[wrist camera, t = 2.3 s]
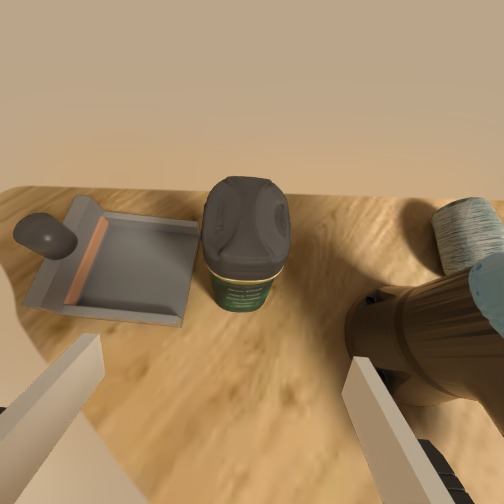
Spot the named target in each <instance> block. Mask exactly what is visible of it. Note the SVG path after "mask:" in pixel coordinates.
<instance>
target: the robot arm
mask: <svg viewBox="0 0 504 504" xmlns="http://www.w3.org/2000/svg"><path fill="white" fill-rule="evenodd" d="M345 339H346V345H347V349H348V352H349V355H350V358H351V360H352V363H351V366H350V369H349V372H348V375H347V378H346V381H345V384H344V387H343V390H342V393H341V395H342V398H343V400H344V403H345V405H346V408H347V411H348V413H349V416H350V419H351V421H352V424H353V426H354V429H355V432H356V434H357V437H358V439H359V442H360V445H361V447H362V450H363V452H364V455H365V458H366V460H367V463H368V465H369V468H370V471H371V473H372V476H373V478H374V481H375V484H376V486H377V489H378V492H379V494H380V497H381V499H382V502H383V504H474V502H473V501H472V499H471V498H470V496H469V494H468V493H466V492H465V488H464V487H463V485H462V484H461V482H460V481H459V479H458V478H457V477H456V476H455V473H454V472H453V470H452V468H451V467H450V465H449V464H448V462H447V461H446V459H445V458H444V456H443V455H442V454H441V453H440V452H439V451H438V450H437V449H436V448H435V447H434V446H433V445H432V443H431V442H430V441H429V440H424V439H416V437H415V435H414V434H413V432H412V430H411V429H410V427H409V425H408V424H407V422H406V420H405V419H404V417H403V415H402V414H401V412H400V410H399V409H398V407H397V405H396V404H395V402H394V401H397V402H401V403H405V404H408V405H413V406H433V405H437V404H440V403H444V402H447V401H451V400H454V399H458V398H464V399H469V400H474V401H478V402H479V403H480V404H481V405H482V406H483V407H484V409H485V410H486V412H487V413H488V415H489V416H490V418H491V419H492V421H493V422H494V424H495V425H496V427H497V428H498V430H499V431H500V433H501V434H502V436H503V437H504V252H503V253H496V254H493V255H490V256H487V257H485V258H483V259H481V260H480V261H478V262H477V263H475V265H474V266H471V267H468V268H466V269H463V270H460V271H458V272H455V273H452V274H449V275H447V276H444V277H441V278H439V279H436V280H433V281H430V282H428V283H425V284H422V285H420V286H417V287H410V286H385V287H380V288H377V289H374V290H372V291H370V292H368V293H366V294H364V295H362V296H361V297H360V298H358V299H357V300H356V301H355V303H354V304H353V305H352V307H351V309H350V310H349V313H348V315H347V319H346V324H345ZM105 375H106V374H105V368H104V361H103V355H102V348H101V342H100V335H99V334H95V333H83V334H82V335H81V336H80V337H79V338H78V339H77V340H76V341H75V342H74V343H73V344H72V345H71V346H70V347H69V348H68V349H67V350H66V351H65V352H64V353H63V354H62V355H61V356H60V357H59V358H57V359H56V360H55V361H54V362H53V363H52V364H51V365H50V366H49V367H48V368H47V369H46V370H45V371H44V372H43V373H42V374H41V375H40V376H39V377H38V378H37V379H36V380H35V381H34V382H33V383H32V384H31V385H30V386H29V387H28V388H27V389H26V390H25V391H24V392H23V393H22V394H21V395H20V396H19V397H18V398H17V399H16V400H15V401H14V402H13V403H12V404H11V405H10V406H9V407H8V408H5V407H0V504H14V503H15V502H16V500H17V499H18V497H19V496H20V495H21V493H22V492H23V490H24V489H25V488H26V486H27V485H28V483H29V482H30V480H31V479H32V478H33V476H34V475H35V473H36V472H37V471H38V469H39V468H40V466H41V465H42V464H43V462H44V461H45V459H46V458H47V457H48V455H49V454H50V452H51V451H52V449H53V448H54V447H55V445H56V444H57V442H58V441H59V440H60V438H61V437H62V435H63V434H64V432H65V431H66V430H67V428H68V427H69V425H70V424H71V423H72V421H73V419H74V418H75V417H76V416H77V414H78V413H79V411H80V410H81V409H82V407H83V406H84V404H85V403H86V402H87V400H88V399H89V397H90V396H91V394H92V393H93V392H94V390H95V389H96V387H97V386H98V385H99V383H100V382H101V380H102V379H103V378H104V376H105Z"/></svg>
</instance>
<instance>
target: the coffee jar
mask: <svg viewBox="0 0 504 504" xmlns="http://www.w3.org/2000/svg"><path fill="white" fill-rule="evenodd" d="M290 238H291V226H290V216H289V209H288V203H287V200H286V197H285V195H284V194H283V192H282V191H281V190H280V189H279V188H278V187H277V186H276V185H275V184H274V183H272V182H271V180H269V179H263V178H256V177H243V176H230V177H227V178H226V179H224V180H222V181H221V182H219V183H218V184H217V185H216V186H214V187H213V189H212V190H211V191H210V193H209V195H208V197H207V201H206V203H205V205H204V214H203V222H202V229H201V236H200V239H201V241H202V247H203V254H204V259H205V262H206V265H207V267H208V269H209V271H210V276H211V280H212V285H213V290H214V295H215V299H216V302H217V304H218V305H219V306H220V307H221V308H223V309H224V310H227V311H231V312H252V311H255V310H257V309H259V308H260V307H261V306H262V305H263V303H264V302H265V300H266V297H267V295H268V292H269V290H270V287H271V285H272V283H273V281H274V279H275V277H276V276H277V275H278V274H279V273H280V272H281V271H282V269H283V267H284V265H285V262H286V259H287V256H288V253H289V250H290V242H291V240H290Z"/></svg>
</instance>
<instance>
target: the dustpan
mask: <svg viewBox="0 0 504 504" xmlns="http://www.w3.org/2000/svg"><path fill="white" fill-rule="evenodd" d="M200 235H201V231H200V227H199V224H198V222H197V221H188V220H179V219H170V218H161V217H151V216H142V215H133V214H124V213H115V212H106V211H104V210H103V209H102V208H101V207H100V206H99V205H98V203H97V202H96V201H95V200H94V199H93V198H92V197H91V196H82V195H76V197H75V199H74V201H73V203H72V205H71V207H70V209H69V211H68V213H67V215H66V217H65V219H64V221H63V223H62V224H61V223H60V222H59V221H57V220H56V219H55V218H53V217H52V216H51V215H49V214H46V213H34V214H31V215H28V216H26V217H24V218H23V219H22V220H20V221H19V222H18V223H17V225H16V226H15V228H14V231H13V237H14V239H15V241H16V242H18V243H19V244H21V245H23V246H25V247H27V248H29V249H31V250H32V251H34V252H36V253H38V254H40V255H42V256H44V257H45V259H44V261H43V263H42V265H41V266H40V268H39V270H38V272H37V274H36V276H35V278H34V280H33V282H32V284H31V286H30V288H29V290H28V292H27V294H26V296H25V298H24V300H23V302H22V304H21V306H25V307H29V308H34V309H38V310H42V311H46V312H50V313H54V314H58V315H62V316H70V317H80V318H90V319H100V320H111V321H121V322H131V323H141V324H151V325H161V326H172V327H182V323H183V318H184V313H185V309H186V304H187V299H188V294H189V289H190V284H191V279H192V274H193V270H194V265H195V260H196V255H197V250H198V245H199V240H200Z"/></svg>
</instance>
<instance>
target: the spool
mask: <svg viewBox="0 0 504 504" xmlns="http://www.w3.org/2000/svg"><path fill="white" fill-rule="evenodd" d="M431 225H432V226H433V229H434V232H435V237H436V241H437V247H438V251H439V255H440V259H441V264H442V267H443V270H444V273H445V274H446V276H447V275H449V274H452V273H455V272H458V271H460V270H463V269H466V268H468V267H471V266H474V265H475V263H477V262H478V261H480V260H481V259H483V258H485V257H487V256H490V255H493V254H496V253H503V252H504V226H503V224H502V222H501V220H500V218H499V216H498V215H497V213H496V212H495V210H494V209H493V206H492V204H491V203H490V202H488V201H487V200H485V199H483V198H476V197H475V198H473V197H470V198H465V199H461V200H457V201H454V202H452V203H449V204H447V205H445V206H444V207H442V208H440V209H439V210H437V211H436V212H435V214H434V215H433V217H432V222H431Z"/></svg>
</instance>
